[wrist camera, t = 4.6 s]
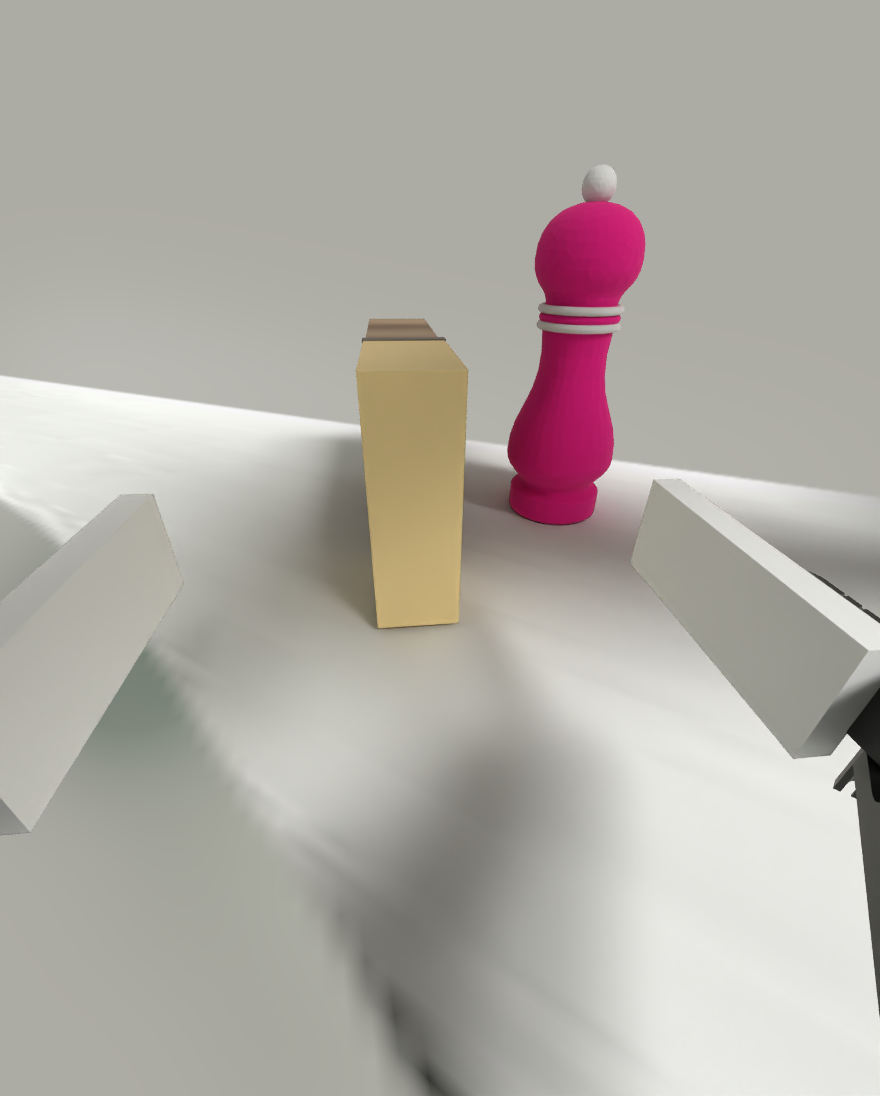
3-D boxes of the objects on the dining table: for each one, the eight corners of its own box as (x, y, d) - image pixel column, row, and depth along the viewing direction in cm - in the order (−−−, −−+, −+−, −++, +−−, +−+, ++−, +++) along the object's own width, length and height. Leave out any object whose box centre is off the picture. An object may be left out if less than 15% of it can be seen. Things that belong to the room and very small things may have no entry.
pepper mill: (489, 490, 37) (512, 172, 26) (570, 482, 38) (623, 178, 28) (525, 534, 31) (574, 146, 20) (619, 522, 32) (710, 155, 22)
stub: (459, 623, 23) (469, 368, 16) (376, 629, 22) (354, 369, 16) (441, 541, 30) (443, 337, 23) (378, 544, 29) (362, 337, 23)
